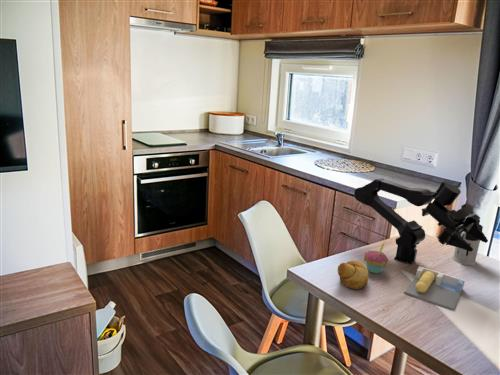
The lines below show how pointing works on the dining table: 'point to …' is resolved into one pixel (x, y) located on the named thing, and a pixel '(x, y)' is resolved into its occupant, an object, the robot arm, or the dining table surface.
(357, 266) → the bread roll
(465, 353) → the dining table surface
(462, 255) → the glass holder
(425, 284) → the yellow pill shape
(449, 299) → the capsule display stand
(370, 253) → the cupcake
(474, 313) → the dining table surface
